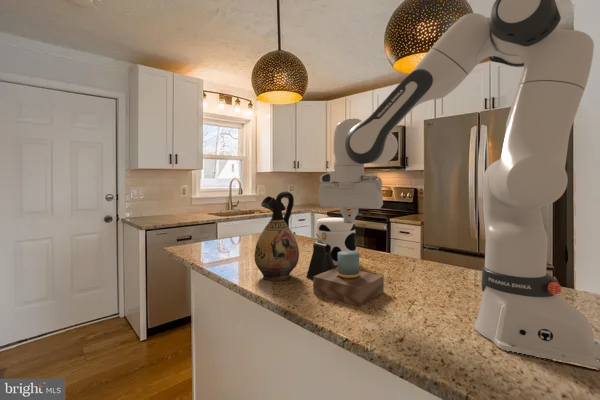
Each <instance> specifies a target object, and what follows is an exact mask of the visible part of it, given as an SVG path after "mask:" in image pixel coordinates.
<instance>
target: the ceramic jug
mask: <svg viewBox="0 0 600 400" xmlns="http://www.w3.org/2000/svg"><path fill="white" fill-rule="evenodd" d="M283 198H285V199H287V200H288V202H287V206H285V205H284V203H283V202H282V199H283ZM294 203H295V201H294V195H293V194H292V193H291V192H290V191H281V192H280V193H278V194H277V195H276V198H275V197H271V196H269V195H268V196H267V197H265V198H264V199H263V200H262V202H261V205H260V206H261V207H263V208H265V209H267V210H269V211H271V212H272V215H271V219H270V220H269V222H268V223H267V224H266V226H265V227H264V229H263V230H262V233H261V234H260V235H259V237H258V239H257V242H256V244H255V250H254V256H253V257H254V262H255V265H256V267H257V269H258V270H259V271H260V273H261V275H262V278H263V280H267V281H272V282H273V281H274V282H278V281H279V282H280V281H285V280H287V279H289V277H290V275H291V272H292V271H294V269H296V267H297V266H298V263H299V259H300V252H299V246H298V243H297V240H296V237H295V235H294V233H293V231H292V230H291V229H290V218H291V214H292V211H293V207H294ZM283 211H285V213H284V215H283Z"/></svg>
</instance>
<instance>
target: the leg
mask: <svg viewBox="0 0 600 400" xmlns="http://www.w3.org/2000/svg"><path fill="white" fill-rule="evenodd" d="M359 271H360V252H358V251H357V252H354V251H341V252H338V276H340V277H342V278H343V279H348V280H354V279H355V278H356V277H358V276H359Z"/></svg>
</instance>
